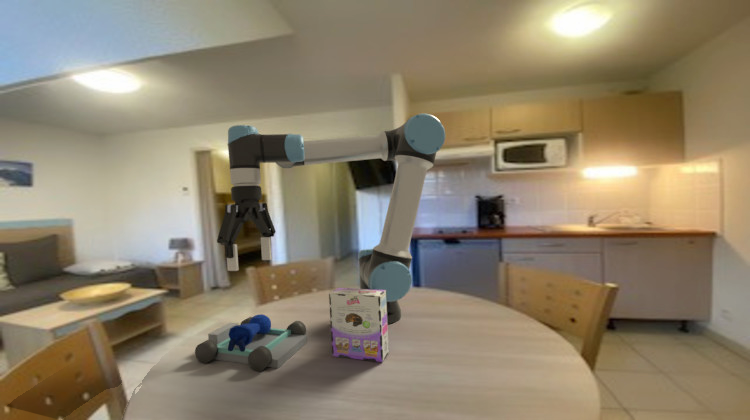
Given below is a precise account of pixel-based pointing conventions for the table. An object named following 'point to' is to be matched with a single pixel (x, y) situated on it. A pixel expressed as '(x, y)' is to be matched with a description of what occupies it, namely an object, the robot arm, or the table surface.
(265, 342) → the chassis
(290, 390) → the table surface
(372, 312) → the candy box
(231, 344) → the toy
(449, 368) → the table surface
